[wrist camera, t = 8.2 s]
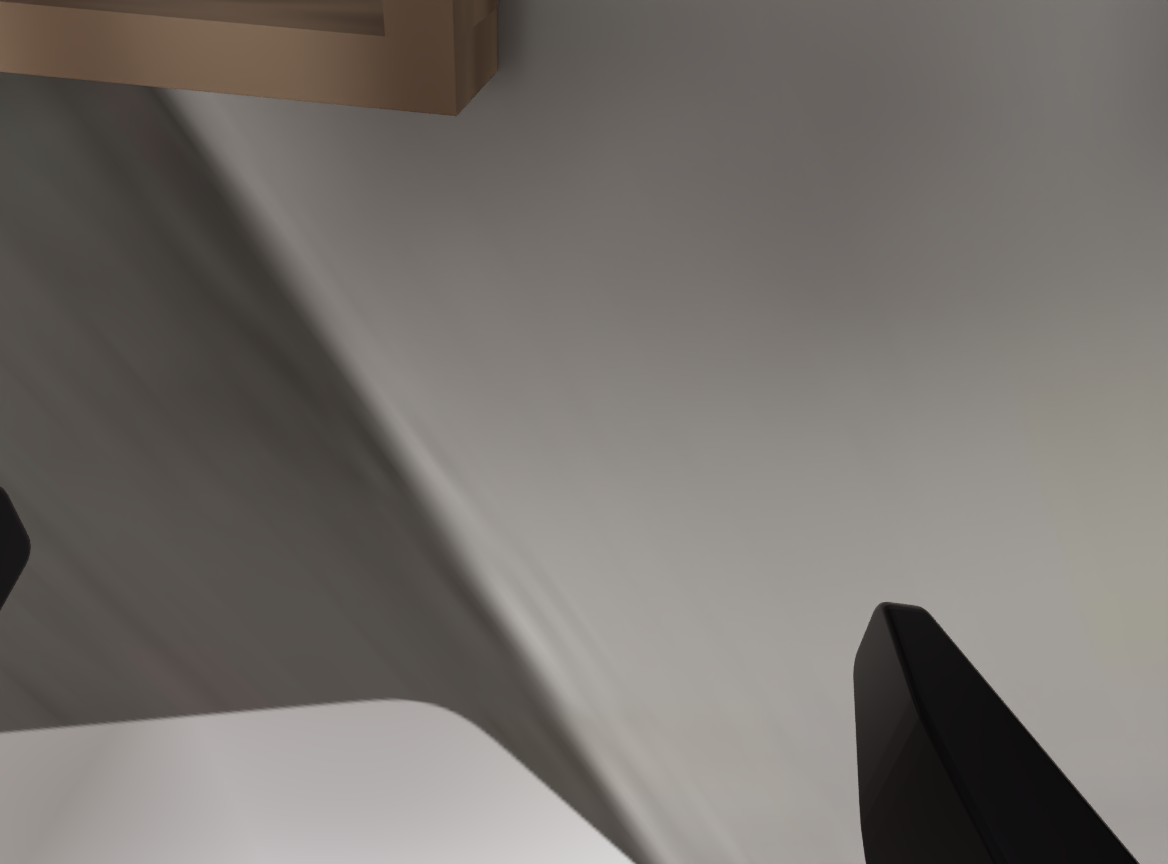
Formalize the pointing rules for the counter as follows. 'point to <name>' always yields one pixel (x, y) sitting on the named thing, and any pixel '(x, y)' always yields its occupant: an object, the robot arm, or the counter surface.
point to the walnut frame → (265, 47)
